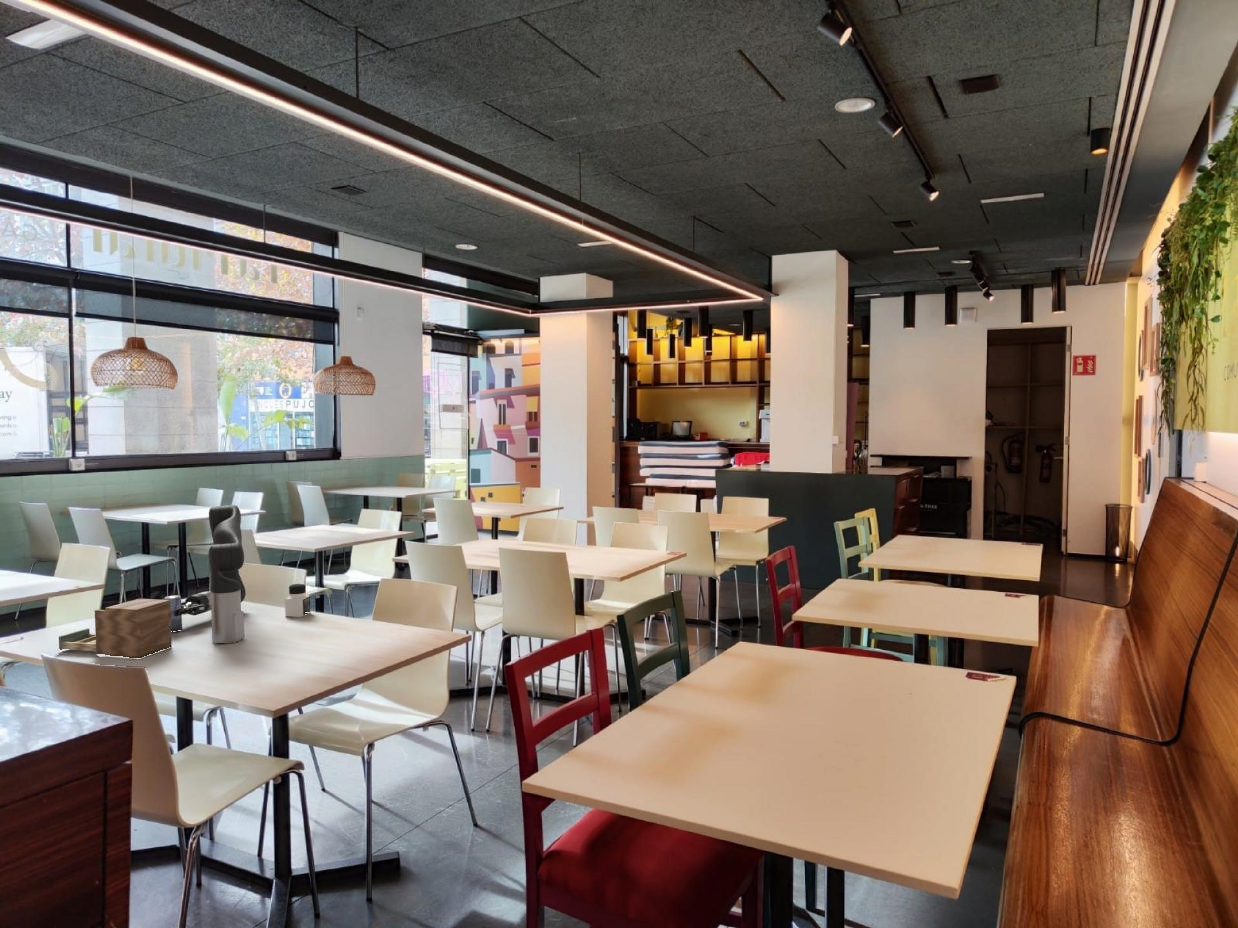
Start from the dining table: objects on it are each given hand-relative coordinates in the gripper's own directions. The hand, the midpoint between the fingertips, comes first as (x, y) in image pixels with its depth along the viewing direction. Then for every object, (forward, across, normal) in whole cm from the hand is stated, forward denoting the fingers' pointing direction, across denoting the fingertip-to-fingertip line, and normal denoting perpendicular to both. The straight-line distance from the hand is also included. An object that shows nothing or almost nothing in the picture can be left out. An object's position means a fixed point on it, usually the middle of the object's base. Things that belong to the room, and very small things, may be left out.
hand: (167, 613), depth 299 cm
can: (-3, 0, +7) cm, 7 cm away
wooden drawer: (+23, -8, +7) cm, 26 cm away
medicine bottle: (-34, +29, +8) cm, 45 cm away
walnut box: (+23, +8, +7) cm, 26 cm away
